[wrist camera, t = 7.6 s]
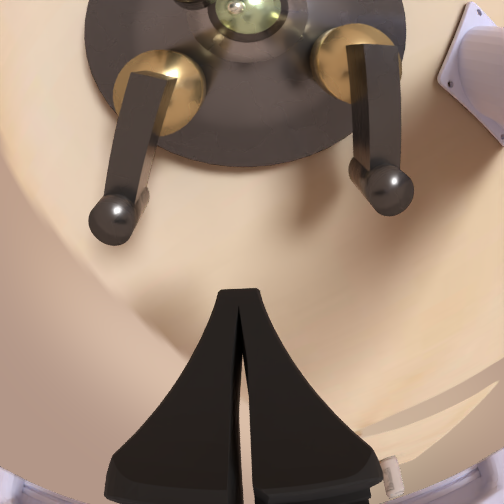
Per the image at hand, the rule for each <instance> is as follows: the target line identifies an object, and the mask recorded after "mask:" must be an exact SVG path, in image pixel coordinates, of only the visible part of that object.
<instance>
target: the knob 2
mask: <svg viewBox="0 0 504 504" xmlns="http://www.w3.org/2000/svg"><path fill="white" fill-rule="evenodd" d="M310 68H311V72H312V75H313V77H314V79H315V81H316V82H317V84H318V85H319V86H320V87H321V88H322V89H323V90H324V91H325V92H326V93H328V94H329V95H331V96H332V97H335V98H337V99H339V100H342V101H344V102H347V103H349V104H351V109H352V127H353V156H354V157H353V158H352V160H351V162H350V164H349V170H348V171H349V176H350V179H351V180H352V182H353V183H354V184H355V185H356V187H357V188H358V189H359V190H360V191H361V193H362V194H363V195H364V196H365V198H366V199H367V200H368V201H369V202H370V204H371V205H372V206H373V207H374V209H375V210H376V211H377V212H378V213H379V214H381V215H384V216H394V215H397V214H400V213H401V212H403V211H404V210H405V209H406V208H407V207H408V206H409V204H410V203H411V201H412V198H413V194H414V186H413V183H412V181H411V179H410V178H409V177H408V176H407V175H406V174H405V173H404V172H402V171H401V170H400V154H401V92H400V80H401V75H402V64H401V59H400V55H399V53H398V48H397V46H395V45H394V44H393V42H392V41H391V40H390V39H389V38H388V37H387V36H386V35H385V34H384V33H383V32H381V31H380V30H378V29H376V28H374V27H372V26H369V25H365V24H359V23H352V24H346V25H343V26H339V27H336V28H333V29H330V30H328V31H326V32H324V33H323V34H321V35H320V36H319V37H318V38H317V40H316V41H315V42H314V44H313V46H312V49H311V52H310Z"/></svg>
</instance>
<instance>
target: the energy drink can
mask: <svg viewBox="0 0 504 504" xmlns="http://www.w3.org/2000/svg"><path fill="white" fill-rule="evenodd" d="M380 465H381V468H382V471H383V481H384V485H385V490H386V495H387V496H388V497H389V499H390V498H393V497H396V496H399V495H402V494H404V493H403V492H404V485H403V480H402V476H401V472H400V468H399V464H398V460H397V458H396V457H395V456H391V457H388V458H385V459H383V460H381V463H380Z"/></svg>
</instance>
